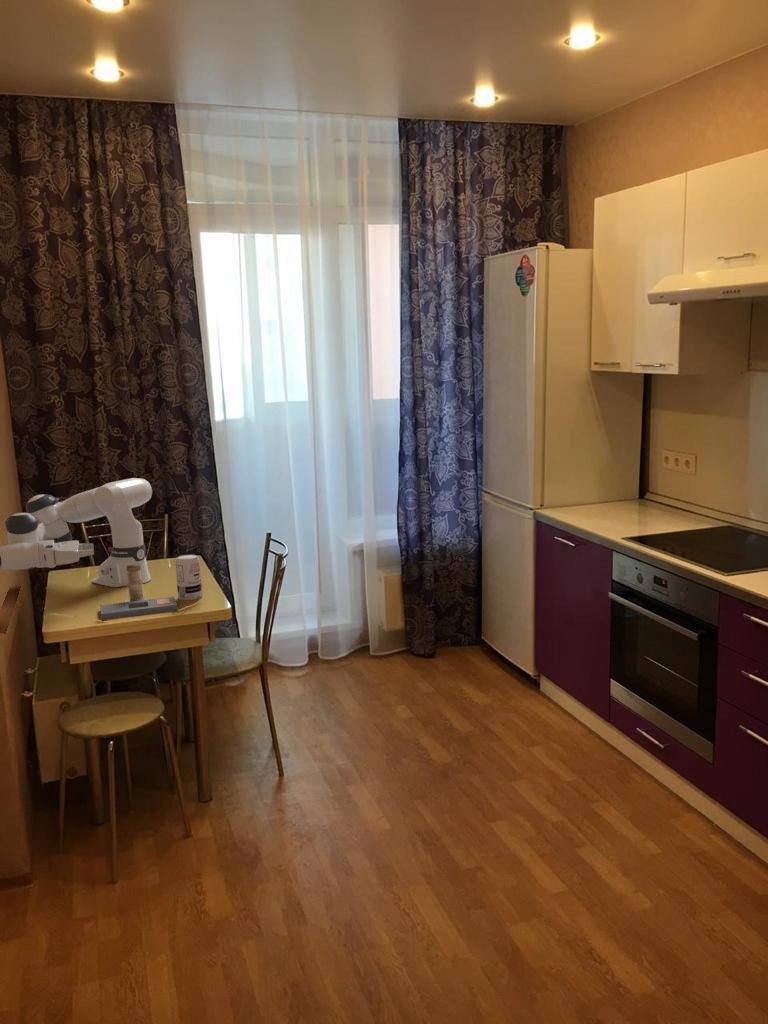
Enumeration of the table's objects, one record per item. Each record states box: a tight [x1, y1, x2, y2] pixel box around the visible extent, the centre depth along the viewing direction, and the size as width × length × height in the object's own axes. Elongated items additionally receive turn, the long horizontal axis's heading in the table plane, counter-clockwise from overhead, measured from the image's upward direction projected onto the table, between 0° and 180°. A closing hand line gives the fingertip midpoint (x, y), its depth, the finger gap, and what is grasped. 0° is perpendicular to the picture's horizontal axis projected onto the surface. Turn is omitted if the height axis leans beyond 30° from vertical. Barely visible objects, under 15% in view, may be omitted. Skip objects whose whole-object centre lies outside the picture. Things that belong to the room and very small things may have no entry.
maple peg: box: [127, 564, 144, 602], centre depth 289 cm, size 4×4×13 cm
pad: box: [123, 597, 149, 602], centre depth 290 cm, size 8×8×1 cm
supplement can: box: [174, 554, 203, 601], centre depth 293 cm, size 8×8×15 cm
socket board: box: [99, 596, 179, 622], centre depth 280 cm, size 24×11×3 cm, turn 110°
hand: (93, 548), depth 283 cm, fingers open, 8 cm apart
